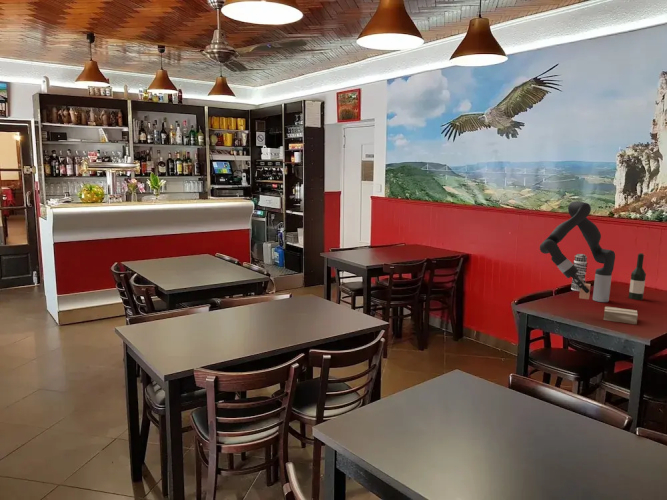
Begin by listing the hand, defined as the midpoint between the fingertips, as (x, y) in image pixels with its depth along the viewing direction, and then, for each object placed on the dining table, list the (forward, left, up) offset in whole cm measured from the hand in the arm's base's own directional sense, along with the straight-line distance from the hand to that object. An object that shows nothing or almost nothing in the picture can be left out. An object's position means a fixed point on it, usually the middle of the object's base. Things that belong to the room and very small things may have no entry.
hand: (588, 291), depth 294 cm
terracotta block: (0, -2, -4) cm, 5 cm away
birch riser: (-1, +17, -14) cm, 22 cm away
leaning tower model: (-68, -9, -14) cm, 70 cm away
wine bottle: (-63, +26, -14) cm, 70 cm away
